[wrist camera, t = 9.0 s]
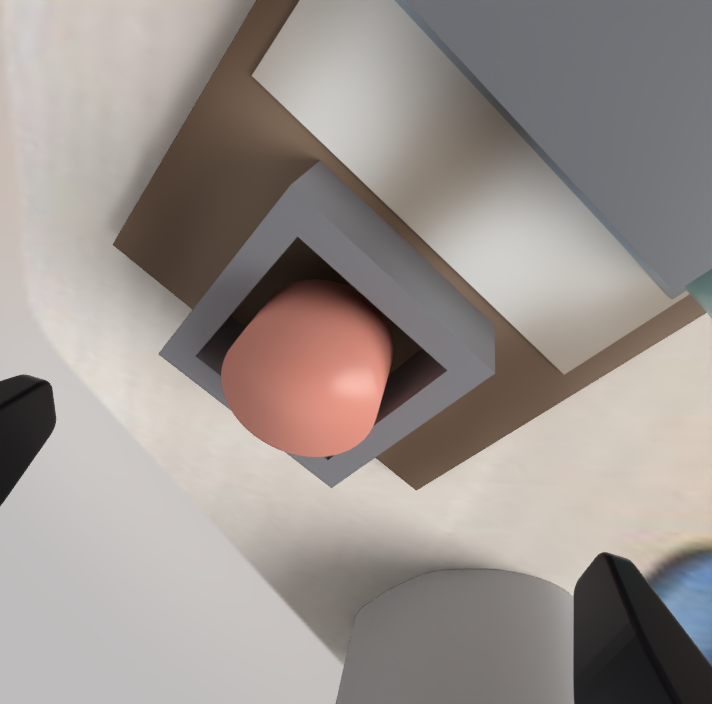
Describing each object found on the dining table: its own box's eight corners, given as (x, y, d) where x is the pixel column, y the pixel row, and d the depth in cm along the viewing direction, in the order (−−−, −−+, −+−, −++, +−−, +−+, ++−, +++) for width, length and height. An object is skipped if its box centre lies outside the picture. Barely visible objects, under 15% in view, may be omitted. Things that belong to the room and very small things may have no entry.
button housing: (494, 325, 18) (495, 373, 16) (348, 436, 22) (331, 488, 20) (320, 160, 16) (290, 185, 14) (197, 313, 21) (158, 354, 18)
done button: (423, 348, 17) (412, 404, 15) (333, 421, 20) (311, 479, 17) (312, 249, 16) (280, 291, 14) (232, 339, 19) (193, 388, 16)
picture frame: (1070, 67, 12) (1113, 71, 12) (418, 477, 24) (415, 494, 23) (650, -638, 9) (666, -708, 8) (124, 237, 20) (108, 247, 20)
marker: (830, 192, 14) (938, 247, 11) (685, 288, 16) (735, 358, 13) (500, -233, 11) (504, -339, 8) (376, -50, 13) (337, -73, 10)
